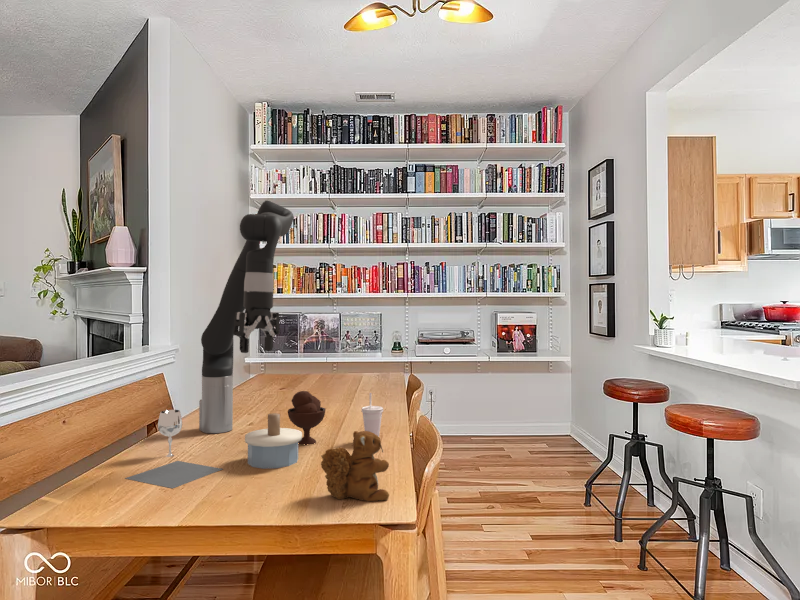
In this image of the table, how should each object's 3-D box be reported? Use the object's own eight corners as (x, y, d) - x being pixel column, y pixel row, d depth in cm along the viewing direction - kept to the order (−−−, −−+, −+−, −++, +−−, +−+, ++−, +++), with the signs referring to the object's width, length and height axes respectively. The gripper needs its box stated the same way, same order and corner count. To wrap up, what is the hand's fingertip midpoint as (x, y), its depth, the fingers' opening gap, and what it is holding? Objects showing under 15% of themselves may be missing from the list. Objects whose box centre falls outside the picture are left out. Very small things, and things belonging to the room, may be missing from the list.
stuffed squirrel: (392, 500, 111) (392, 436, 111) (323, 506, 108) (323, 440, 108) (383, 484, 121) (383, 425, 121) (319, 489, 118) (319, 428, 118)
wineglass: (186, 455, 142) (187, 410, 142) (170, 462, 137) (171, 414, 137) (169, 453, 144) (169, 408, 144) (152, 459, 139) (153, 412, 139)
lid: (232, 442, 133) (232, 417, 133) (269, 430, 146) (269, 407, 146) (278, 449, 127) (279, 422, 127) (313, 436, 140) (313, 411, 140)
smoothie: (361, 438, 161) (361, 391, 161) (382, 438, 162) (382, 391, 162) (361, 444, 155) (361, 395, 155) (383, 443, 155) (384, 394, 155)
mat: (124, 480, 122) (124, 478, 122) (177, 463, 136) (177, 460, 136) (172, 491, 116) (172, 488, 116) (223, 471, 129) (223, 468, 129)
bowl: (238, 466, 133) (238, 442, 133) (269, 454, 144) (269, 431, 144) (277, 473, 128) (277, 447, 128) (307, 459, 139) (307, 436, 139)
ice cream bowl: (318, 448, 150) (319, 394, 150) (280, 446, 152) (281, 392, 152) (331, 439, 160) (331, 388, 160) (295, 437, 162) (295, 387, 162)
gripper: (267, 291, 151) (265, 349, 151) (227, 288, 139) (225, 352, 139) (288, 291, 147) (285, 351, 147) (248, 289, 135) (246, 354, 135)
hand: (256, 351), depth 143 cm, fingers open, 8 cm apart
